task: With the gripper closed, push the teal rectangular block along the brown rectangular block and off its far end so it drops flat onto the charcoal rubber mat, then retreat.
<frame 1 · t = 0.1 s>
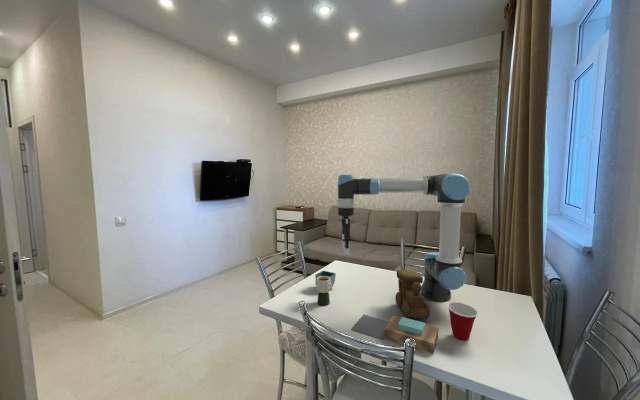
hand: (345, 250, 130), 28 cm above the table, fingers open, 13 cm apart
mat: (372, 326, 115), on the table
brown rectangular block: (411, 337, 107), on the table
flower pot: (325, 289, 153), on the table
character mug: (323, 303, 136), on the table
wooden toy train: (410, 311, 127), on the table
plastic cup: (461, 337, 107), on the table
teal rectangular block: (411, 328, 106), point 4 cm above the table, touching brown rectangular block
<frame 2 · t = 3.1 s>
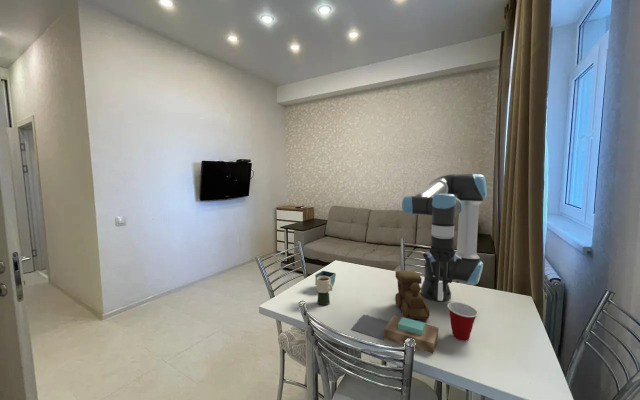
hand: (440, 299, 100), 18 cm above the table, fingers closed
nothing on the table moved.
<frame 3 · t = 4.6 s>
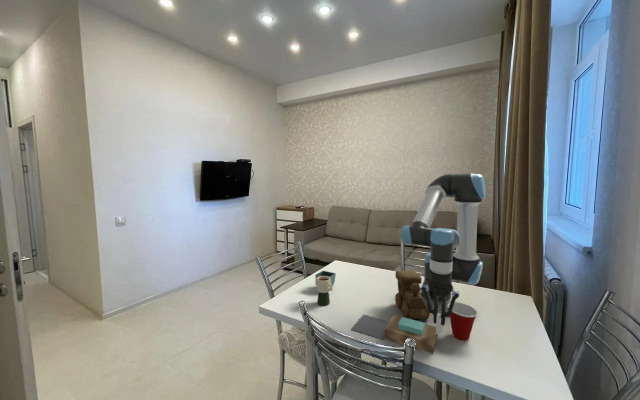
hand: (438, 332, 101), 5 cm above the table, fingers closed
nothing on the table moved.
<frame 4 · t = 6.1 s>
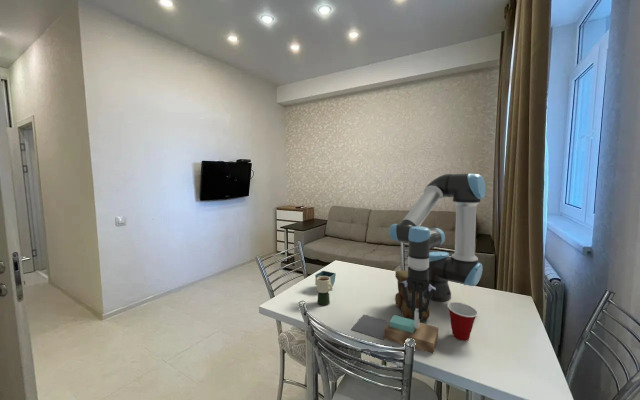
hand: (416, 326, 105), 5 cm above the table, fingers closed
teal rectangular block: (403, 326, 108), point 4 cm above the table, touching gripper
everything else where it was.
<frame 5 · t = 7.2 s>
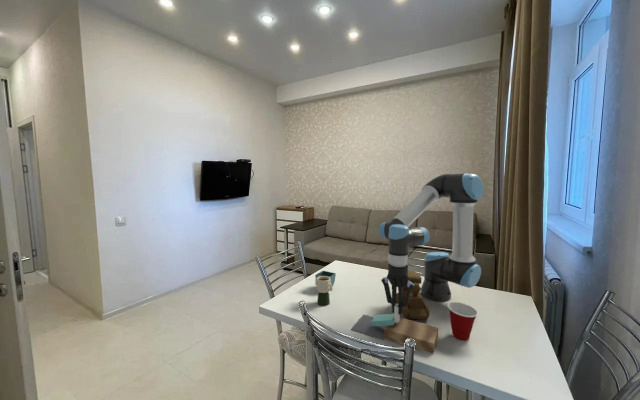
hand: (396, 320, 109), 5 cm above the table, fingers closed
teal rectangular block: (385, 322, 112), point 3 cm above the table, tilted 18°, touching brown rectangular block, gripper
everything else where it was.
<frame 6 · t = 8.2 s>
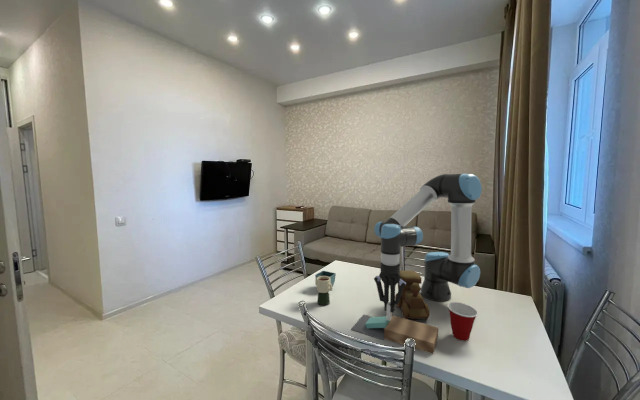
hand: (389, 318, 111), 5 cm above the table, fingers closed
teal rectangular block: (378, 324, 113), point 2 cm above the table, tilted 19°, touching brown rectangular block, mat
everything else where it was.
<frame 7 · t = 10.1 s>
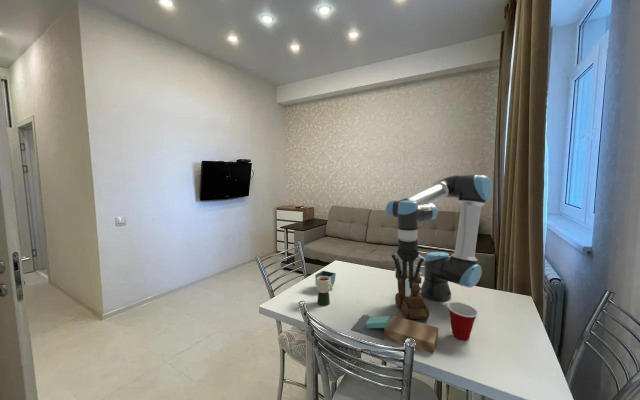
hand: (407, 295, 111), 15 cm above the table, fingers closed
nothing on the table moved.
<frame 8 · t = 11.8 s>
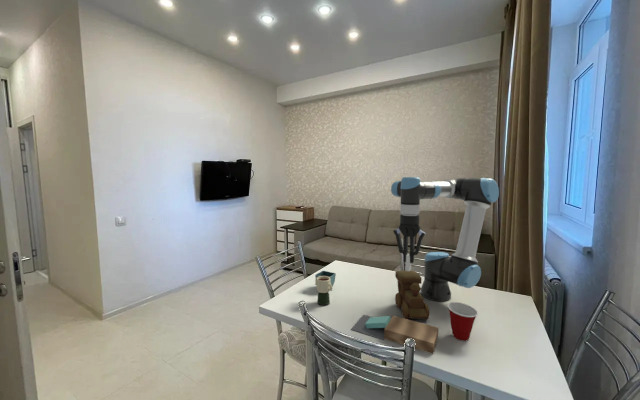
hand: (408, 270, 114), 24 cm above the table, fingers closed
nothing on the table moved.
at the end: teal rectangular block point 1.7 cm above the table; teal rectangular block inside the target area on the mat (2.7 cm from its centre), point 1.7 cm above the mat's base; teal rectangular block tilted 19° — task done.
